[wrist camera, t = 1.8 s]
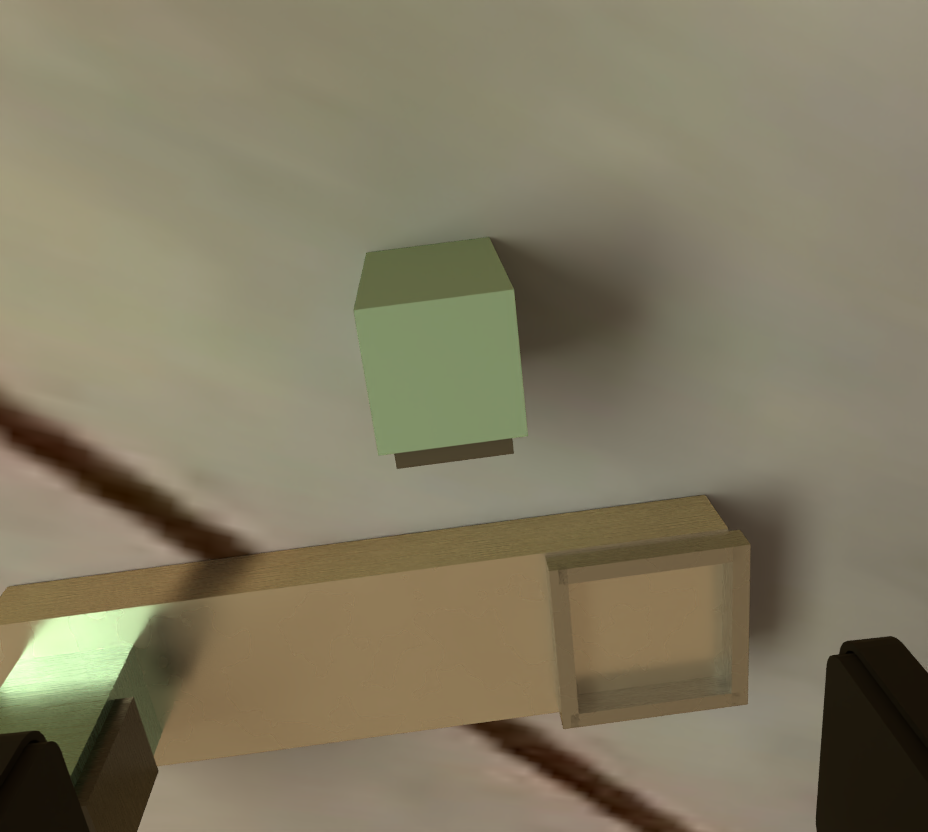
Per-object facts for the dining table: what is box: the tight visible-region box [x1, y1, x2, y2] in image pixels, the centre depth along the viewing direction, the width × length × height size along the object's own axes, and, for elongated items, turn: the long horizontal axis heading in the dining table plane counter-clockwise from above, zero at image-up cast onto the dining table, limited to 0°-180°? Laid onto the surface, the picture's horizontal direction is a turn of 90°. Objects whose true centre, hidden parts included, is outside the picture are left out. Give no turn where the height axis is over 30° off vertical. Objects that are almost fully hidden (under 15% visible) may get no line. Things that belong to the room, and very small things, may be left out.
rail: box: [0, 495, 751, 832], centre depth 28 cm, size 7×26×10 cm, turn 97°
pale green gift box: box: [354, 237, 528, 469], centre depth 25 cm, size 4×5×7 cm
